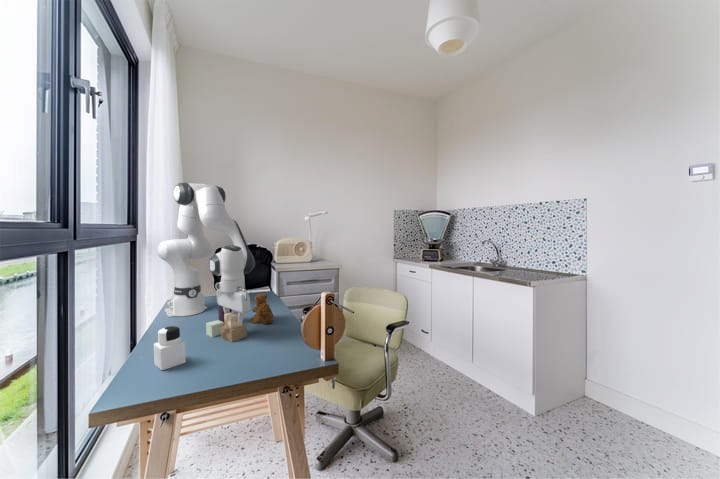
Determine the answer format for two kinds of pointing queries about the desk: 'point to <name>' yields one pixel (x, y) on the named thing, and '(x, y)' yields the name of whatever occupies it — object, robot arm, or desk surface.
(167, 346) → the medicine bottle
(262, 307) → the brown teddy bear
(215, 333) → the sage cube
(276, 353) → the desk surface
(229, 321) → the oak cube
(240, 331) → the walnut base
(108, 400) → the desk surface
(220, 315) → the cup
